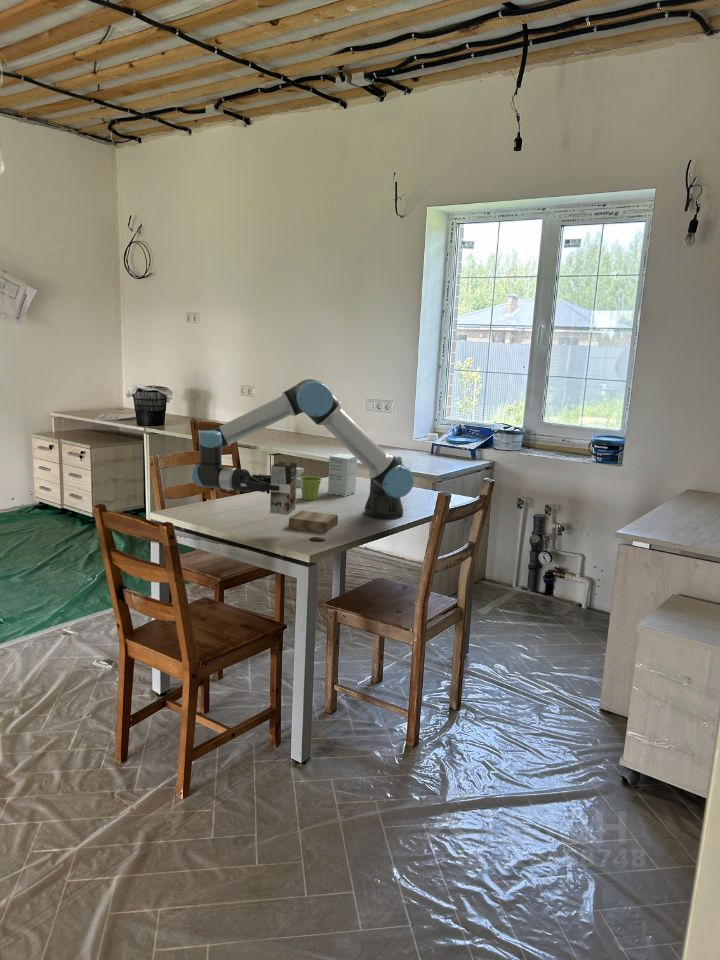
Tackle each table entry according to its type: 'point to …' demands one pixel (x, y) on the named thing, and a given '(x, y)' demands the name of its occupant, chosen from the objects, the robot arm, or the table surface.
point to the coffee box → (283, 475)
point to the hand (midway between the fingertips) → (295, 486)
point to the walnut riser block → (313, 521)
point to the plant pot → (310, 487)
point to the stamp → (299, 472)
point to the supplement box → (342, 474)
